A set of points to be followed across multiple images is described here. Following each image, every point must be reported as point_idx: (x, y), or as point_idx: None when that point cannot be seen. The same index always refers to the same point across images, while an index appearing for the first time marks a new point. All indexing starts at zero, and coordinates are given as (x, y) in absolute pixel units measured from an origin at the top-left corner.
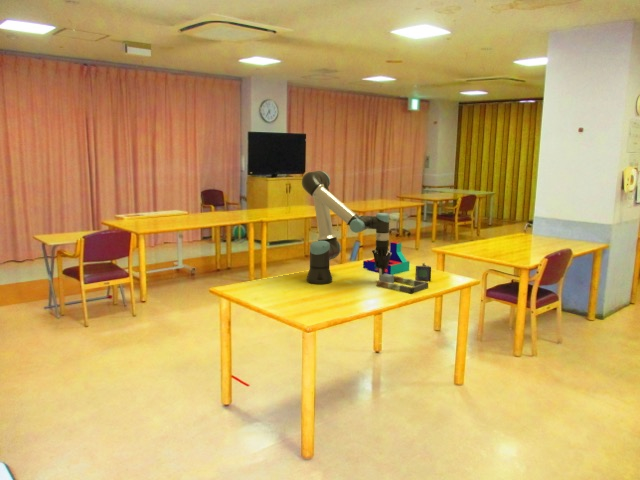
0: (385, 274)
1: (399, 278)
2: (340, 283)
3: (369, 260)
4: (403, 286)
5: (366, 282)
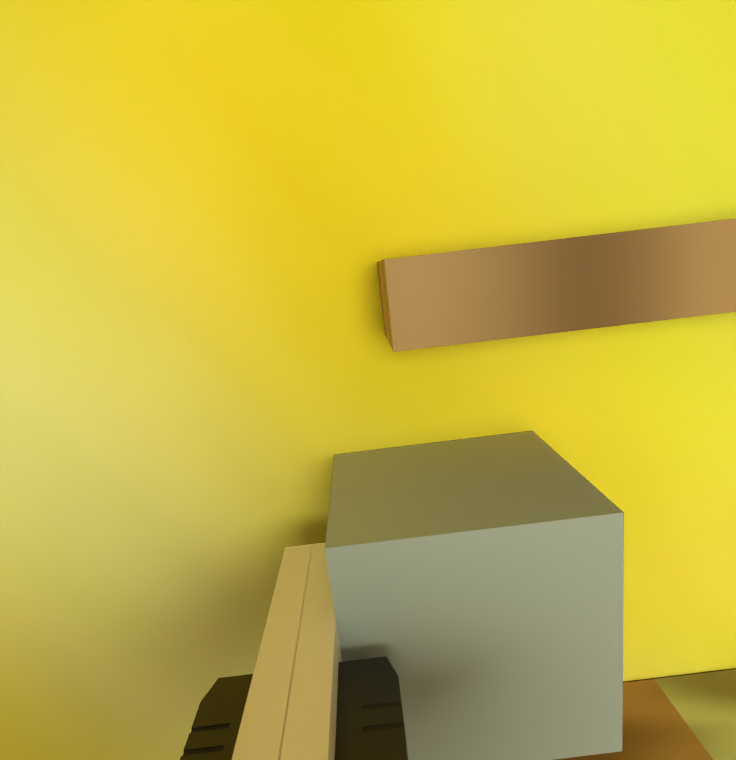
0: (402, 622)
1: (642, 319)
2: None
3: None
4: None
5: (164, 725)
